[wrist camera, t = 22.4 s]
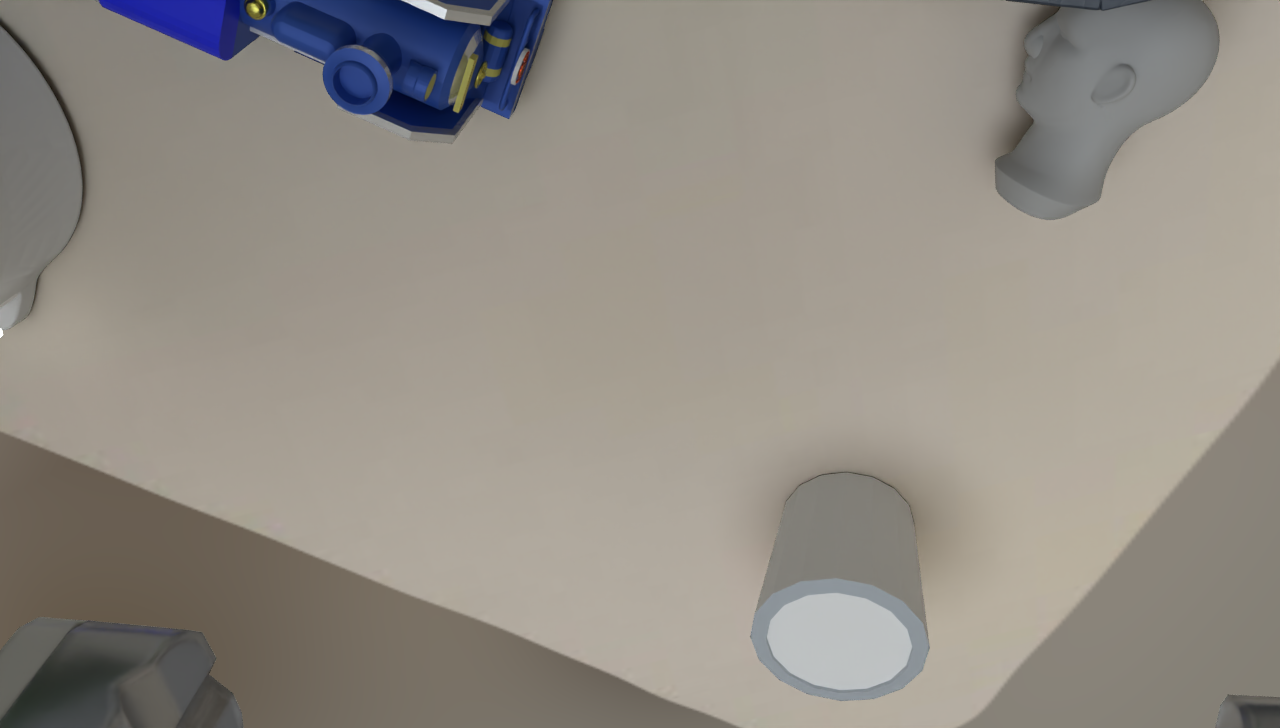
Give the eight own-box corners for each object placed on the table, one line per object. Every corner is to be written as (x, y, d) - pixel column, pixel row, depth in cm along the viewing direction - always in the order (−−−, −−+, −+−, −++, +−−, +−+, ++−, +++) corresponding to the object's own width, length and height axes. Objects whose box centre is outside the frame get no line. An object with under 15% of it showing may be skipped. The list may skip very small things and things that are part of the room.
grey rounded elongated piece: (1113, -75, 37) (1250, 21, 37) (957, 130, 42) (1077, 218, 41) (1095, -61, 34) (1247, 45, 33) (927, 161, 38) (1058, 257, 38)
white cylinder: (891, 598, 54) (887, 724, 48) (747, 549, 54) (727, 669, 48) (955, 493, 50) (959, 617, 44) (800, 439, 50) (784, 557, 44)
